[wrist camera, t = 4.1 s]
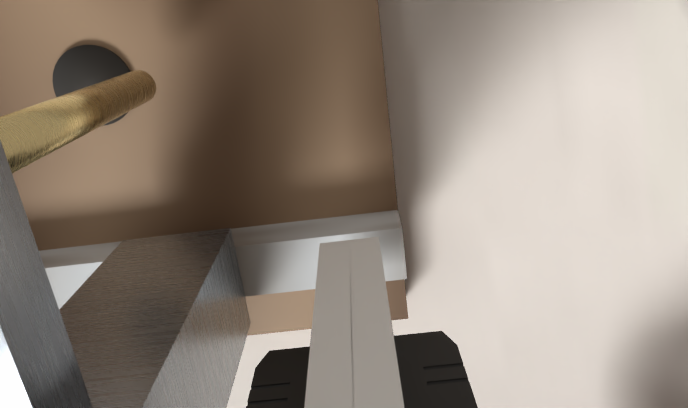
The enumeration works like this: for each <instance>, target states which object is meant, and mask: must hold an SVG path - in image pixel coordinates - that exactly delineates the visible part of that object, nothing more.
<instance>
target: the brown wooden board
mask: <svg viewBox="0 0 688 408" xmlns="http://www.w3.org/2000/svg"><path fill="white" fill-rule="evenodd" d="M134 70H142V71H145V72H147V73H148V74H150V75H151V76H152V78H153V79H154V81H155V84H156V93H155V96H154V97H153V98H152V99H151V100H150V101H148V102H146V103H144V104H142V105H141V106H139V107H137V108H135V109H133V110H131V111H129V112H127V113H125V114H124V115H122V116H120V117H118V118H116V119H114V120H112V121H110V122H108V123H107V124H105V125H103V126H101V127H99V128H97V129H95V130H93V131H91V132H90V133H88V134H86V135H84V136H82V137H80V138H78V139H76V140H74V141H73V142H71V143H69V144H67V145H65V146H63V147H61V148H59V149H57V150H55V151H54V152H52V153H50V154H48V155H46V156H44V157H42V158H40V159H38V160H37V161H35V162H33V163H31V164H29V165H27V166H25V167H23V168H21V169H20V170H18V171H16V172H14V173H12V175H13V178H14V181H15V184H16V186H17V189H18V192H19V195H20V198H21V201H22V204H23V207H24V210H25V212H26V215H27V218H28V221H29V224H30V227H31V230H32V233H33V236H34V238H35V241H36V244H37V247H38V250H39V253H40V256H41V259H42V262H43V264H44V267H45V270H46V273H47V276H48V279H49V282H50V285H51V288H52V290H53V293H54V296H55V299H56V302H57V305H58V308H59V309H60V308H61V307H62V306H63V305H64V304H65V303H66V302H67V301H68V300H69V299H70V297H71V296H72V295H73V294H74V293H75V292H76V291H77V290H78V289H79V288H80V287H81V285H82V284H83V283H84V282H85V281H86V280H87V279H88V278H89V277H90V276H91V274H92V273H93V272H94V271H95V270H96V269H97V268H98V267H99V266H100V265H101V264H102V262H103V261H104V260H105V259H106V258H107V257H108V256H109V255H110V254H111V253H112V252H113V250H114V249H115V248H116V247H117V246H118V245H119V244H120V243H121V242H122V241H123V240H128V239H137V238H146V237H155V236H163V235H172V234H181V233H190V232H198V231H207V230H216V229H225V228H231V231H232V236H233V241H234V245H235V250H236V255H237V260H238V264H239V269H240V274H241V279H242V283H243V288H244V293H245V298H246V302H247V307H248V312H249V317H250V321H251V323H250V327H249V330H248V334H247V335H256V334H266V333H275V332H285V331H294V330H304V329H312V320H313V309H314V299H315V288H316V278H317V267H318V256H319V246H320V243H327V242H336V241H345V240H354V239H363V238H372V237H379V242H380V249H381V255H382V262H383V269H384V275H385V282H386V289H387V295H388V302H389V309H390V315H391V320H398V319H408V312H407V302H406V291H405V281H404V279H407V273H406V263H405V252H404V241H403V231H402V225H401V221H400V217H399V213H398V208H397V197H396V187H395V176H394V166H393V155H392V145H391V135H390V124H389V114H388V103H387V93H386V82H385V72H384V62H383V51H382V41H381V30H380V20H379V9H378V0H0V117H1V116H4V115H7V114H10V113H13V112H16V111H19V110H22V109H24V108H27V107H30V106H33V105H36V104H39V103H42V102H45V101H48V100H50V99H53V98H56V97H59V96H62V95H65V94H68V93H71V92H74V91H76V90H79V89H82V88H85V87H88V86H91V85H94V84H97V83H100V82H102V81H105V80H108V79H111V78H114V77H117V76H120V75H123V74H126V73H128V72H131V71H134Z"/></svg>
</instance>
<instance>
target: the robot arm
mask: <svg viewBox="0 0 688 408" xmlns="http://www.w3.org/2000/svg"><path fill="white" fill-rule="evenodd" d="M246 408H478V407H477V404H476V401H475V398H474V395H473V392H472V389H471V386H470V383H469V381H468V377H467V374H466V371H465V368H464V366H463V362H462V359H461V356H460V353H459V350H458V347H457V345H456V344H455V343H454V342H453V341H452V340H451V339H450V338H449V337H448V336H447V335H446V334H444V333H443V332H442V331H437V332H427V333H418V334H408V335H399V336H394V335H393V329H392V322H391V315H390V309H389V302H388V295H387V289H386V282H385V275H384V269H383V262H382V255H381V249H380V242H379V237H372V238H363V239H354V240H345V241H336V242H327V243H320V246H319V256H318V267H317V278H316V288H315V299H314V309H313V320H312V331H311V341H310V347H302V348H292V349H283V350H273V351H269V352H268V353H267V354H266V356H265V357H264V358H263V359H262V361H261V362H260V363H259V364H258V365H257V367H256V368H255V372H254V377H253V381H252V385H251V390H250V394H249V398H248V406H246Z"/></svg>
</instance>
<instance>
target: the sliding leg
mask: <svg viewBox="0 0 688 408" xmlns="http://www.w3.org/2000/svg"><path fill="white" fill-rule="evenodd" d="M155 93H156V84H155V81H154V79H153V78H152V76H151V75H150V74H148V73H147V72H145V71H142V70H134V71H131V72H128V73H126V74H123V75H120V76H117V77H114V78H111V79H108V80H105V81H102V82H100V83H97V84H94V85H91V86H88V87H85V88H82V89H79V90H76V91H74V92H71V93H68V94H65V95H62V96H59V97H56V98H53V99H50V100H48V101H45V102H42V103H39V104H36V105H33V106H30V107H27V108H24V109H22V110H19V111H16V112H13V113H10V114H7V115H4V116H1V117H0V408H226V407H227V403H228V400H229V396H230V393H231V389H232V386H233V382H234V379H235V375H236V372H237V369H238V365H239V362H240V358H241V355H242V351H243V348H244V344H245V341H246V337H247V334H248V330H249V327H250V323H251V321H250V317H249V312H248V307H247V302H246V298H245V293H244V288H243V283H242V279H241V274H240V269H239V264H238V260H237V255H236V250H235V245H234V241H233V236H232V231H231V228H225V229H216V230H207V231H198V232H190V233H181V234H172V235H163V236H155V237H146V238H137V239H128V240H123V241H122V242H121V243H120V244H119V245H118V246H117V247H116V248H115V249H114V250H113V252H112V253H111V254H110V255H109V256H108V257H107V258H106V259H105V260H104V261H103V262H102V264H101V265H100V266H99V267H98V268H97V269H96V270H95V271H94V272H93V273H92V274H91V276H90V277H89V278H88V279H87V280H86V281H85V282H84V283H83V284H82V285H81V287H80V288H79V289H78V290H77V291H76V292H75V293H74V294H73V295H72V296H71V297H70V299H69V300H68V301H67V302H66V303H65V304H64V305H63V306H62V307H61V308H60V309H59V308H58V305H57V302H56V299H55V296H54V293H53V290H52V288H51V285H50V282H49V279H48V276H47V273H46V270H45V267H44V264H43V262H42V259H41V256H40V253H39V250H38V247H37V244H36V241H35V238H34V236H33V233H32V230H31V227H30V224H29V221H28V218H27V215H26V212H25V210H24V207H23V204H22V201H21V198H20V195H19V192H18V189H17V186H16V184H15V181H14V178H13V175H12V173H14V172H16V171H18V170H20V169H21V168H23V167H25V166H27V165H29V164H31V163H33V162H35V161H37V160H38V159H40V158H42V157H44V156H46V155H48V154H50V153H52V152H54V151H55V150H57V149H59V148H61V147H63V146H65V145H67V144H69V143H71V142H73V141H74V140H76V139H78V138H80V137H82V136H84V135H86V134H88V133H90V132H91V131H93V130H95V129H97V128H99V127H101V126H103V125H105V124H107V123H108V122H110V121H112V120H114V119H116V118H118V117H120V116H122V115H124V114H125V113H127V112H129V111H131V110H133V109H135V108H137V107H139V106H141V105H142V104H144V103H146V102H148V101H150V100H151V99H152V98H153V97H154V96H155Z"/></svg>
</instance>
